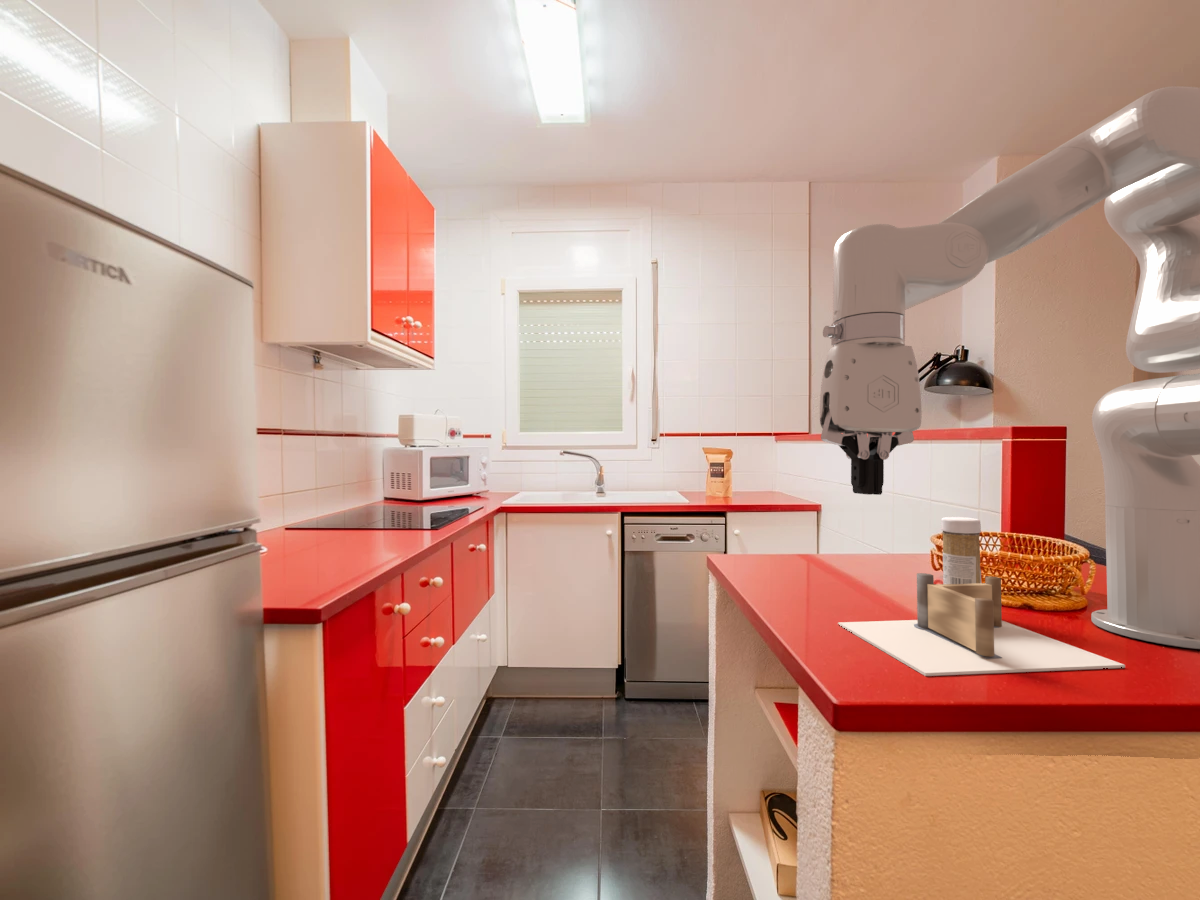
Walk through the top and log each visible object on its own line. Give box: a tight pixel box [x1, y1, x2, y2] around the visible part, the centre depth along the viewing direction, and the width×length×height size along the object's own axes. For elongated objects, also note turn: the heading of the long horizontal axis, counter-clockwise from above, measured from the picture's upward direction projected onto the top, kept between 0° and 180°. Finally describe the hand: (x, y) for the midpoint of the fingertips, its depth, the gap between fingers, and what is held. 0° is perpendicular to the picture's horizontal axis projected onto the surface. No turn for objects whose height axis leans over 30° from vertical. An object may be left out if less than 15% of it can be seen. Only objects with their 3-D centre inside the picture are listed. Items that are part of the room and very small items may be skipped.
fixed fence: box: [916, 572, 1003, 629], centre depth 65 cm, size 11×2×7 cm, turn 95°
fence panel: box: [927, 583, 994, 656], centre depth 59 cm, size 9×2×6 cm, turn 1°
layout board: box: [837, 619, 1126, 677], centre depth 60 cm, size 22×16×1 cm
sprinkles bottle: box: [940, 516, 982, 584], centre depth 72 cm, size 5×5×14 cm
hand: (867, 493), depth 59 cm, fingers closed
